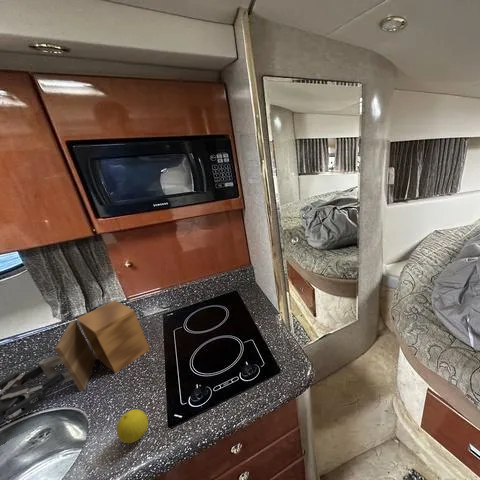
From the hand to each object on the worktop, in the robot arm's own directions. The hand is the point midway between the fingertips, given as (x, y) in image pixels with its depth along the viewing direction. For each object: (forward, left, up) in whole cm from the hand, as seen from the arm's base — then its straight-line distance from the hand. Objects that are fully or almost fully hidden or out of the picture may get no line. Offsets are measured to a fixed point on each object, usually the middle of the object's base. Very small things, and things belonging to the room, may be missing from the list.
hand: (55, 370), depth 67 cm
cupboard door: (+3, +2, -7) cm, 8 cm away
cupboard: (+14, 0, -8) cm, 16 cm away
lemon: (+3, -31, -8) cm, 32 cm away
